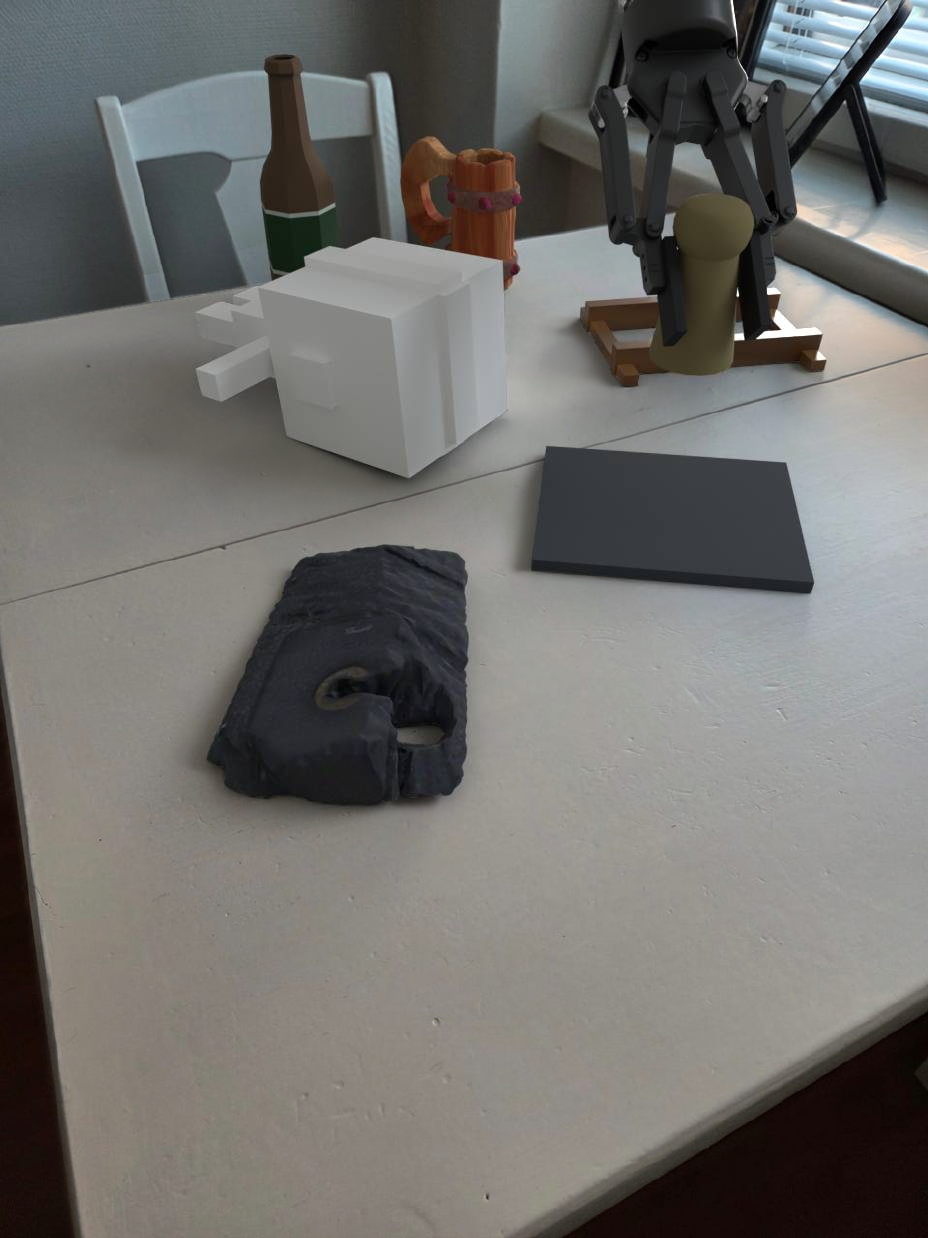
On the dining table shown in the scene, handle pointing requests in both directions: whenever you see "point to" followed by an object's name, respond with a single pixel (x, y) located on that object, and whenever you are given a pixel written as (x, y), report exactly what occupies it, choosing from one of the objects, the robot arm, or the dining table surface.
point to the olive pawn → (706, 283)
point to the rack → (644, 313)
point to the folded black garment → (354, 681)
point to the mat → (670, 519)
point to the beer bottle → (293, 176)
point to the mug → (464, 201)
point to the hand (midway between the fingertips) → (716, 335)
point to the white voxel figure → (371, 350)
